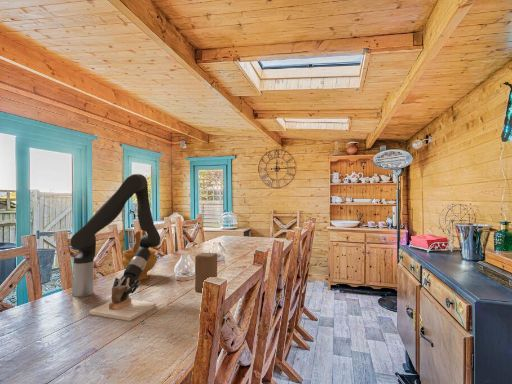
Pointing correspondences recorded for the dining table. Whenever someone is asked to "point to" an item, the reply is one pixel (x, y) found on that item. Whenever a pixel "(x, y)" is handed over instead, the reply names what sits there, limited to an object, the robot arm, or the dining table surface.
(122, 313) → the board
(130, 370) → the dining table surface
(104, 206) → the robot arm
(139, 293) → the dining table surface
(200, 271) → the wooden block
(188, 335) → the dining table surface
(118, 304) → the block
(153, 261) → the mustard brown vase
